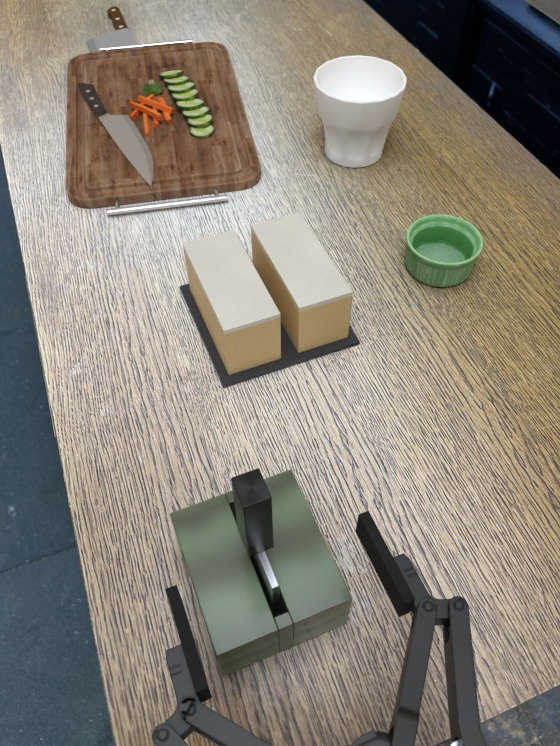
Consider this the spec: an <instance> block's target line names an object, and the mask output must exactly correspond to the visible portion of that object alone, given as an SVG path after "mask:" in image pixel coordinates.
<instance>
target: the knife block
mask: <svg viewBox="0 0 560 746" xmlns="http://www.w3.org/2000/svg"><path fill="white" fill-rule="evenodd" d="M264 481H265V483H266V485H267V488H268V490H269V492H270V494H271V497H272V517H273V542H274V547H273V548H271V549H268V550H266V551H265V552H266V554H267V557H268V559H269V562H270V564H271V567H272V569H273V571H274V574H275V576H276V579H277V581H278V584H279V600H280V615H279V616H276V617H273V615H272V612H271V610H270V607H269V604H268V602H267V599H266V597H265V594H264V592H263V589H262V587H261V584H260V581H259V579H258V576H257V574H256V571H255V569H254V566H253V564H252V561H251V559H250V557H249V556H248V554H247V551H246V549H245V546H244V544H243V541H242V539H241V536H240V533H239V531H238V526H237V519H236V511H235V504H234V497H233V490H231V491H227V492H225V493H223V494H219V495H216V496H214V497H212V498H209V499H206V500H203V501H200V502H197V503H195V504H192V505H188V506H186V507H183V508H181V509H179V510H175V511H173V512H170V513H169V515H170V519H171V522H172V525H173V528H174V531H175V533H176V534H175V536H176V539H177V540H178V544H179V547H180V550H181V553H182V556H183V560H184V562H185V565H186V569H187V572H188V574H189V578H190V581H191V585H192V587H193V591H194V593H195V596H196V599H197V602H198V605H199V609H200V612H201V614H202V618H203V620H204V624H205V627H206V630H207V633H208V636H209V639H210V642H211V645H212V648H213V651H214V654H215V658H216V660H217V664H218V667H219V670H220V672H221V676H222V677H226V676H228V675H230V674H232V673H235V672H238V671H240V670H242V669H244V668H246V667H249V666H251V665H254V664H256V663H258V662H262V661H263V660H265V659H268V658H270V657H273V656H274V655H275V656H276V655H277V654H279V653H281V652H284V651H287V650H289V649H291V648H293V647H295V646H296V647H297V646H298V645H301V644H303V643H305V642H308V641H310V640H312V639H314V638H317V637H319V636H322V635H323V634H324V635H325V634H326V633H328V632H331V631H333V630H336V629H338V628H341V627H343V626H344V625H347V624H348V620H349V615H350V611H351V607H352V604H353V603H352V602H353V597H352V595H351V593H350V591H349V589H348V586H347V584H346V582H345V580H344V577H343V576H342V574H341V572H340V570H339V568H338V567H339V566H338V565H337V563H336V561H335V559H334V557H333V555H332V553H331V551H330V548H329V546H328V544H327V542H326V540H325V537H324V535H323V534H322V531H321V529H320V527H319V525H318V522H317V521H316V519H315V516H314V514H313V512H312V510H311V509H310V506H309V504H308V502H307V500H306V497H305V495H304V494H303V491H302V489H301V487H300V484H299V483H298V481H297V479H296V477H295V475H294V472H293V470H292V469H288V470H286V471H283V472H280V473H277V474H274V475H272V476H269V477H266V478H264Z"/></svg>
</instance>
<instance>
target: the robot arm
mask: <svg viewBox="0 0 560 746" xmlns="http://www.w3.org/2000/svg"><path fill="white" fill-rule="evenodd" d="M354 532H355V534H356V536H357V538H358V540H359V542H360V544H361V546H362V547H363V549H364V551H365V553H366V555H367V557H368V559H369V562H370V564H371V565H372V567H373V569H374V571H375V573H376V575H377V578H378V579H379V581H380V583H381V585H382V587H383V589H384V591H385V593H386V596H387V597H388V599H389V601H390V603H391V605H392V607H393V609H394V611H395V613H396V615H397V617H398V618H401V617H404V616H406V615H408V614H410V613H411V615H412V616H411V618H410V621H411V624H410V627H409V633H408V637H407V643H406V648H405V652H404V657H403V661H402V667H401V671H400V672H401V673H400V677H399V682H398V687H397V692H396V697H395V702H394V708H393V711H392V716H391V719H390V723H389V728H388V732H386V731H383V730H375V729H371V730H369V731H367V732H365V733H362V734H361V735H360V736H359V737H358V738H356V739H355V740H354V741H353V742H352V743H351V744H348V745H347V744H346V745H345V746H416V739H417V735H418V731H419V724H420V712H421V706H422V700H423V694H424V690H425V684H426V678H427V673H428V667H429V662H430V655H431V650H432V645H433V644H432V643H433V641H434V640H433V639H434V633H435V628H436V626H442V627H441V628H442V639H443V655H444V668H445V669H444V670H445V680H446V695H447V697H446V698H447V709H448V723H449V724H448V725H449V726H448V727H449V735H450V739H451V743H450V744H449V745H448V746H488V744H487V742H486V739H485V738H484V735H483V733H482V731H481V721H480V712H479V710H480V709H479V700H478V699H479V698H478V690H477V680H476V670H475V659H474V657H475V656H474V649H473V648H474V647H473V638H472V627H471V618H470V607H469V604H468V603H469V602H468V601H467V600H466V598H464V597H463V596H460V595H454V596H452V597H451V598H437V597H434V596H432V594H430V593H429V591H428V590H427V588H426V586H425V584H424V582H423V581H422V579H421V577H420V575H419V573H418V571H417V569H416V568H415V565H414V563H413V562H412V561H411V558H410V557H409V556H407V555H406V554H405V553H400V554H398V555H396V556H393V554H392V551H391V550H390V548H389V547H388V545H387V542H386V541H385V539H384V537H383V535H382V533H381V531H380V529H379V527H378V526H377V523H376V522H375V520H374V518H373V517H372V514H371V513H370V511H369V510H366V511H364V512H361V513H359V514H358V515H357V521H356V526H355V530H354ZM165 594H166V598H167V600H168V604H169V607H170V611H171V615H172V617H173V621H174V624H175V627H176V631H177V634H178V637H179V641H180V644H177V645H175V646H172V647H171V648H168V649H167V650H166V652H165V662H166V665H167V670H168V673H169V677H170V680H171V685H172V688H173V691H174V694H175V699H176V706H175V710H174V712H173V713H172V714H171V715H170V716H169V717H168V718H167V719H166V720H164V722H162V723H158V725H156V726H155V727H154V729H153V731H152V735H151V737H152V741H153V744H154V745H155V746H190V745H189V744H188V743H187V742H186V741H185V740H186V739H187V738H188V737H189V736H190V735H191V734H193V732H195V733H196V734H199V735H200V736H202V737H203V738H205V739H206V740H208V741H210V742H211V743H213V744H215V745H216V746H273V745H272V744H270V743H269V742H268V741H265V740H264V739H262V738H261V737H259V736H257V735H256V734H254V733H252V732H251V731H249V730H247V729H246V728H244V727H243V726H241V725H239V724H238V723H236V722H234V721H232V720H231V719H229V718H228V717H226V716H224V715H223V714H221V713H220V712H218V711H216V710H214V709H212V708H211V707H209V706H208V705H206V704H204V702H206V701H208V700H211V699H213V695H212V692H211V689H210V686H209V682H208V679H207V676H206V673H205V669H204V667H203V663H202V659H201V657H200V653H199V650H198V647H197V643H196V641H195V636H194V634H193V630H192V627H191V624H190V621H189V617H188V614H187V611H186V609H185V608H186V607H185V605H184V601H183V599H182V595H181V593H180V590H179V588H178V585H177V584H175V585H172V586H170V587H166V588H165Z"/></svg>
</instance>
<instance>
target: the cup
mask: <svg viewBox="0 0 560 746" xmlns="http://www.w3.org/2000/svg"><path fill="white" fill-rule="evenodd" d="M312 80H313V89H314V98H315V106H316V109H317V112H318V115H319V117H320V119H321V121H322V124H323V132H324V139H325V141H324V154H325V156H326V158H327V159H328V160H330V161H331V162H332V163H334V164H335V165H338V166H341V167H343V168H344V167H345V168H352V169H356V168H365V167H369V166H371V165H373V164H375V163H377V162H378V161H380V159H381V158H382V155H383V151H384V146H385V143H386V140H387V138H388V135H389V131H390V129H391V126H392V123H394V120H395V119H396V117H397V116H398V114H399V110H400V107H401V103H402V101H403V97H404V94H405V90H406V87H407V81H408V78H407V76H406V74H405V73H404V71H403V69H402V68H400V67H399V66H397V64H395V63H394V62H392V61H389V60H386V59H384V58H380V57H377V56H370V55H369V56H368V55H359V54H355V55H345V56H339V57H336V58H333V59H329V60H327V61H325V62H324V63H322V64H321V65H320V66H318V67H317V68H316V70H315V72H314V74H313V77H312Z"/></svg>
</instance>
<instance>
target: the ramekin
mask: <svg viewBox="0 0 560 746" xmlns="http://www.w3.org/2000/svg"><path fill="white" fill-rule="evenodd" d="M405 243H406V250H405V257H404V258H405V262H404V263H405V267H406V269H407V271H408V272H409V274H410V275H411V276H412V277H413V278H414V279H415V280H417V281H418V282H420V283H422V284H424V285H427V286H431V287H436V288H450V287H454V286H457V285H460V284H462V283H463V282H465V281H466V280H467V279H468V278H469V277H470V275H471V273H472V271H473V268H474V266H475V263H476V261H477V259H478V258H479V257H480V255H481V253H482V252H483V249H484V238H483V236H482V234H481V232H480V231H479V230H478V228H476V226H475V225H473V224H472V223H471V222H469V221H467V220H465V219H463V218H461V217H458V216H455V215H450V214H440V213H439V214H429V215H425V216H421V217H419V218H418V219H416V220H414V221H413V222H412V223H411V224H410V225H409V226H408V228H407V231H406V234H405Z"/></svg>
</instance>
